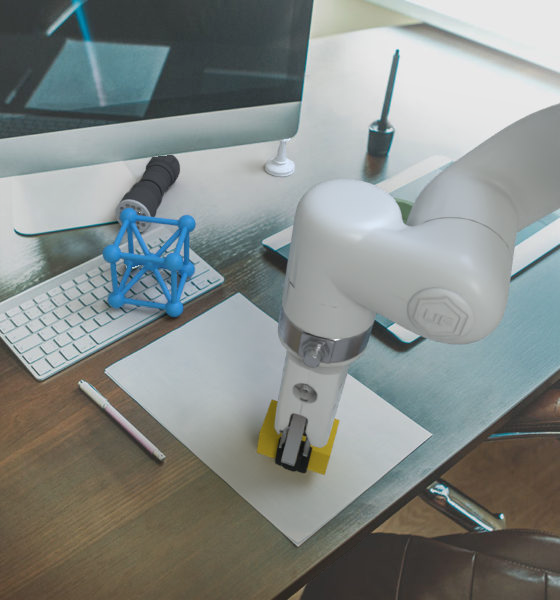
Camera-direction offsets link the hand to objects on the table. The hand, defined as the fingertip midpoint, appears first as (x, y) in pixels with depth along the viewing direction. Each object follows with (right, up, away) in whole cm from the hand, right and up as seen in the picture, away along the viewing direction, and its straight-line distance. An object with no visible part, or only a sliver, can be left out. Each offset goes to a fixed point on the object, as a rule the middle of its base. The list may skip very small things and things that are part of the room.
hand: (297, 444), depth 67 cm
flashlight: (-16, +30, +35) cm, 48 cm away
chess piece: (+6, +37, +41) cm, 55 cm away
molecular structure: (-15, +16, +20) cm, 30 cm away
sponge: (0, 0, 0) cm, 0 cm away
